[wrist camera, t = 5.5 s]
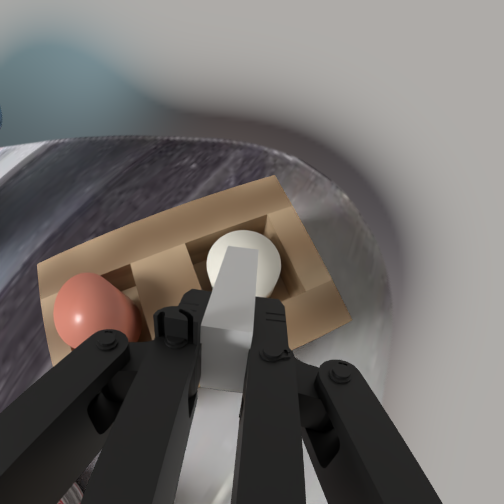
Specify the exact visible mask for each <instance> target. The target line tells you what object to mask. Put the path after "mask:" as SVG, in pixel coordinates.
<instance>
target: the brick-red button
mask: <svg viewBox="0 0 504 504" xmlns="http://www.w3.org/2000/svg"><path fill="white" fill-rule="evenodd" d="M53 317H54V323H55V327H56V330H57V332H58V334H59V336H60V337H61V338H62V340H63V341H64V342H65V343H66V344H68V345H69V346H71V347H73V348H76V347H78V346H79V345H80V344H81V343H82V342H84V341H85V340H86V339H87V338H89V337H90V336H91V335H92V334H94V333H96V332H97V331H100V330H104V329H114V330H118V331H121V332H122V333H124V334H125V335H126V336H127V338H128V341H129V342H137V341H138V339H139V337H140V334H141V330H142V319H141V314H140V311H139V309H138V307H137V306H136V304H135V303H134V302H133V301H132V300H131V299H130V298H129V297H127V296H126V295H125V294H124V293H122V292H121V291H120V290H118V289H117V288H116V287H114V286H113V285H112V284H111V283H109V282H108V281H107V280H106V279H104V278H103V277H101V276H100V275H98V274H95V273H80V274H77V275H75V276H73V277H72V278H70V279H69V280H68V281H67V282H66V283H65V284H64V285H63V286H62V287H61V289H60V290H59V292H58V294H57V297H56V300H55V303H54V311H53Z"/></svg>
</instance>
